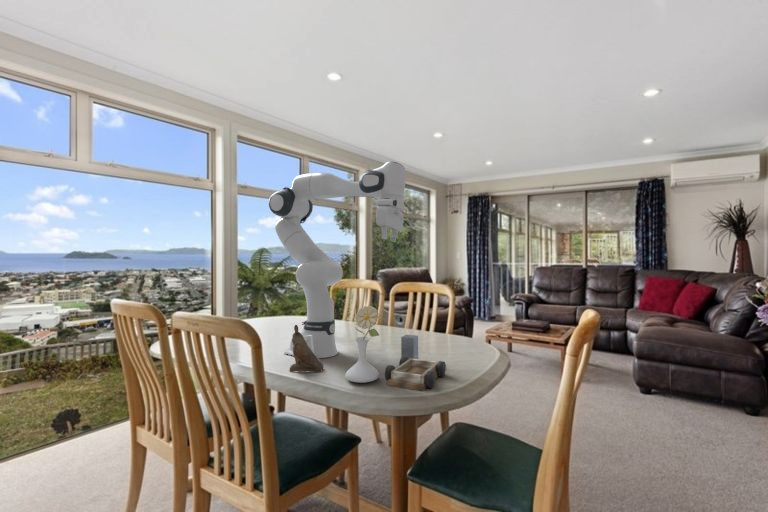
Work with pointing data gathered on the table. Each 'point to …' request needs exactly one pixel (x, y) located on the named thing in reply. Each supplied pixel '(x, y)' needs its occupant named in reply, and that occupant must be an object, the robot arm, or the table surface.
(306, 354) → the brown carved statuette
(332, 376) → the table surface
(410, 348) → the block
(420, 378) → the chassis
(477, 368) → the table surface
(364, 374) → the flower in vase
